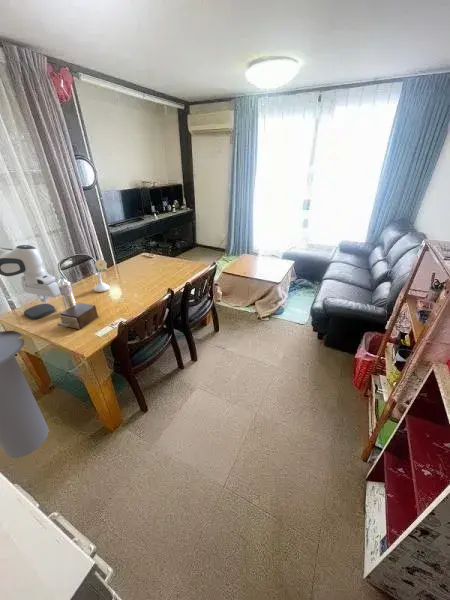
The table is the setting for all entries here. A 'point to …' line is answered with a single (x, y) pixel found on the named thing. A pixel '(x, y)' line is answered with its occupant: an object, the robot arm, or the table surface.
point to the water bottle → (66, 293)
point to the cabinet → (82, 313)
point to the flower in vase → (100, 286)
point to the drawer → (69, 322)
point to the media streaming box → (39, 311)
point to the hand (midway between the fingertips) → (45, 301)
